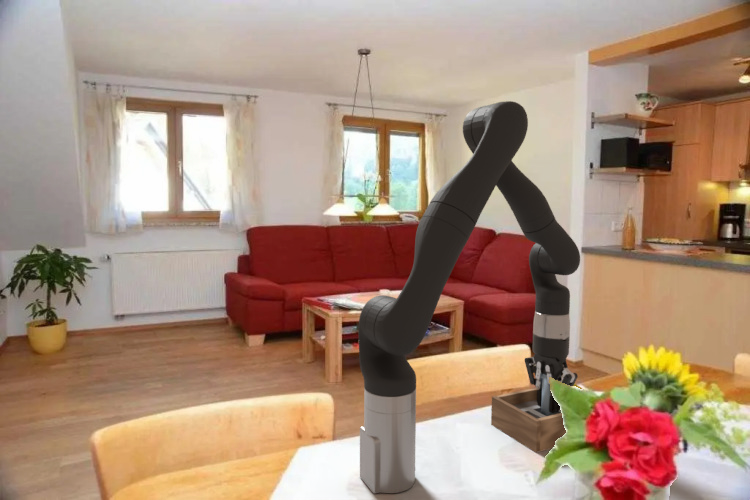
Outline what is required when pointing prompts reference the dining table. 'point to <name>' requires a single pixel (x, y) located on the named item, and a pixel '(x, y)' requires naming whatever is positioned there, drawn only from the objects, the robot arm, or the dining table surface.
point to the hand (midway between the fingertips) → (548, 408)
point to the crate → (526, 420)
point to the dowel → (545, 397)
